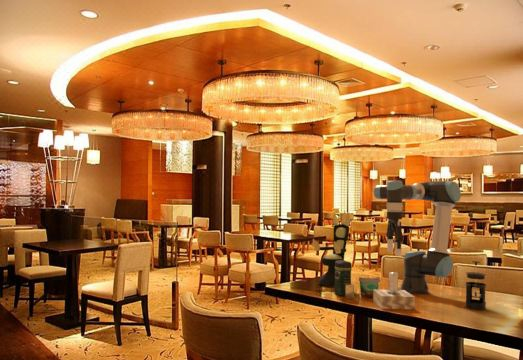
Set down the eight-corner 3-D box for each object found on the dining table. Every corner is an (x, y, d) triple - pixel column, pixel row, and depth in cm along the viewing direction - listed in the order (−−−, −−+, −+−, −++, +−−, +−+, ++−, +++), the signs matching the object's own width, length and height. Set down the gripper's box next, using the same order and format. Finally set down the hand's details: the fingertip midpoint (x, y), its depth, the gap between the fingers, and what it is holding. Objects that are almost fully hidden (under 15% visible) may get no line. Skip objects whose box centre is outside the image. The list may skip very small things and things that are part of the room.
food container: (363, 297, 243) (364, 278, 243) (358, 295, 249) (358, 276, 249) (384, 297, 246) (384, 278, 246) (378, 294, 252) (378, 276, 252)
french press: (473, 304, 233) (474, 259, 234) (491, 308, 225) (491, 261, 225) (459, 307, 227) (459, 260, 227) (476, 311, 219) (476, 263, 219)
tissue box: (404, 301, 235) (404, 290, 236) (414, 309, 219) (414, 296, 220) (373, 301, 235) (373, 289, 236) (381, 308, 219) (381, 296, 220)
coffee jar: (353, 295, 247) (354, 261, 248) (340, 296, 244) (341, 261, 245) (344, 292, 256) (344, 259, 257) (331, 292, 253) (332, 259, 254)
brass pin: (352, 297, 243) (353, 284, 244) (354, 299, 239) (354, 285, 239) (344, 297, 243) (344, 283, 244) (346, 298, 239) (346, 285, 239)
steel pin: (396, 304, 230) (396, 272, 230) (398, 306, 225) (399, 273, 226) (387, 304, 230) (387, 272, 230) (390, 306, 225) (390, 273, 226)
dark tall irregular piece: (310, 284, 278) (311, 210, 279) (333, 280, 293) (334, 210, 294) (334, 289, 264) (336, 211, 265) (357, 285, 279) (359, 211, 280)
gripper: (380, 210, 242) (380, 250, 241) (394, 212, 217) (394, 256, 216) (394, 210, 242) (394, 250, 241) (410, 212, 217) (409, 257, 216)
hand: (394, 253), depth 228 cm, fingers open, 13 cm apart
